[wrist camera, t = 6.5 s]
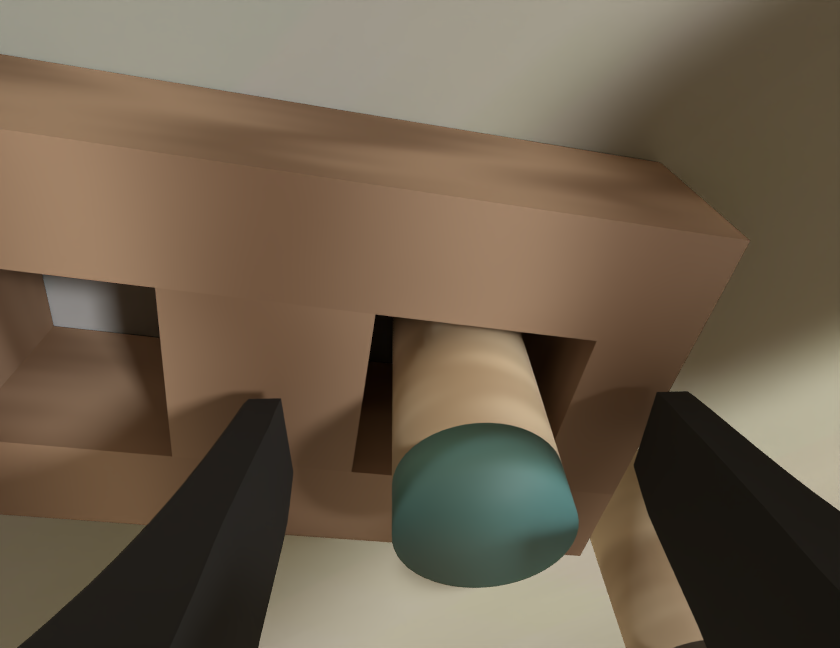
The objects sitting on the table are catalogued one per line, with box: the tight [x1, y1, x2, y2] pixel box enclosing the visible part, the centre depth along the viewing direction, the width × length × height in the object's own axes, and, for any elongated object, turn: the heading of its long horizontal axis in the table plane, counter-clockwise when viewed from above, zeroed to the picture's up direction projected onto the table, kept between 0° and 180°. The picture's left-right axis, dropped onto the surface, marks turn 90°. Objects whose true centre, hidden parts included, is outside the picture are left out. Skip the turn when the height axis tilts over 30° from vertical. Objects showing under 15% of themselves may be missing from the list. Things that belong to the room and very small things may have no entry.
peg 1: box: [392, 317, 579, 588], centre depth 12 cm, size 3×3×7 cm
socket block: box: [0, 54, 750, 556], centre depth 13 cm, size 16×9×4 cm, turn 80°
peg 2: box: [590, 450, 707, 648], centre depth 16 cm, size 3×3×7 cm
